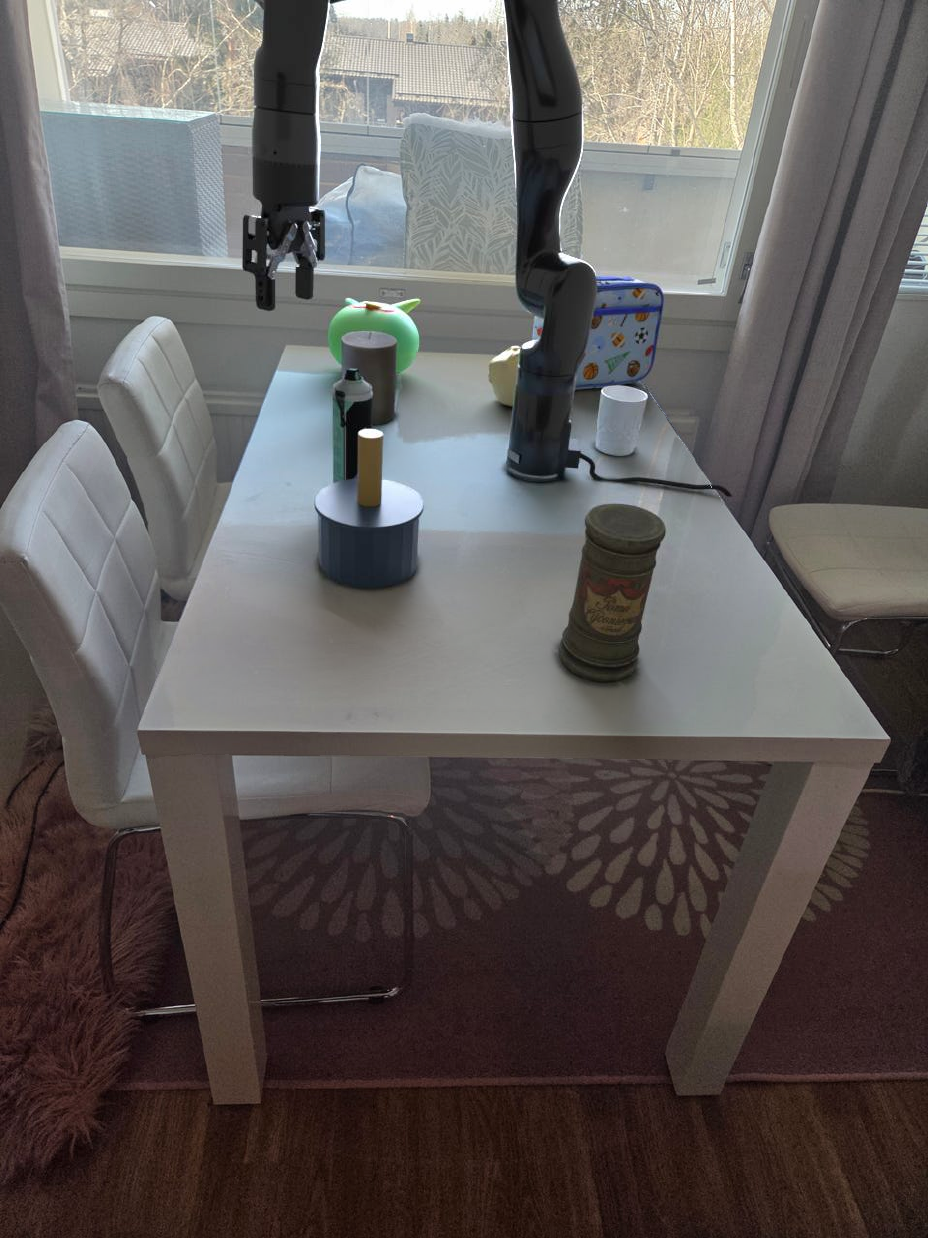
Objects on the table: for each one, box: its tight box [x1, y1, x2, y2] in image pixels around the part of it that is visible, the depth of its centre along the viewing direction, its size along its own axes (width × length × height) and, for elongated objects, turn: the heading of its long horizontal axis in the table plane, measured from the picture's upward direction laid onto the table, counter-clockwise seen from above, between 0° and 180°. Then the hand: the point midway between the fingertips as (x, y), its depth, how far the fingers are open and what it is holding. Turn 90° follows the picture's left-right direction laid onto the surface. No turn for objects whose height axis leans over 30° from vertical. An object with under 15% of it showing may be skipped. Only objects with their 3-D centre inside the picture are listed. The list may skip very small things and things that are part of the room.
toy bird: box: [327, 297, 421, 375], centre depth 170 cm, size 18×17×15 cm
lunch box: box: [531, 275, 665, 391], centre depth 173 cm, size 28×10×22 cm, turn 115°
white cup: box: [595, 385, 649, 457], centre depth 149 cm, size 8×8×10 cm
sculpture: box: [487, 345, 521, 407], centre depth 164 cm, size 12×12×11 cm
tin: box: [317, 513, 420, 590], centre depth 110 cm, size 13×13×8 cm
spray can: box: [331, 367, 373, 484], centre depth 121 cm, size 6×6×20 cm
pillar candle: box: [341, 331, 397, 425], centre depth 151 cm, size 10×10×15 cm
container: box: [558, 502, 667, 683], centre depth 94 cm, size 9×9×18 cm
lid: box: [313, 428, 425, 532], centre depth 105 cm, size 14×14×10 cm
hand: (285, 303), depth 106 cm, fingers open, 8 cm apart
